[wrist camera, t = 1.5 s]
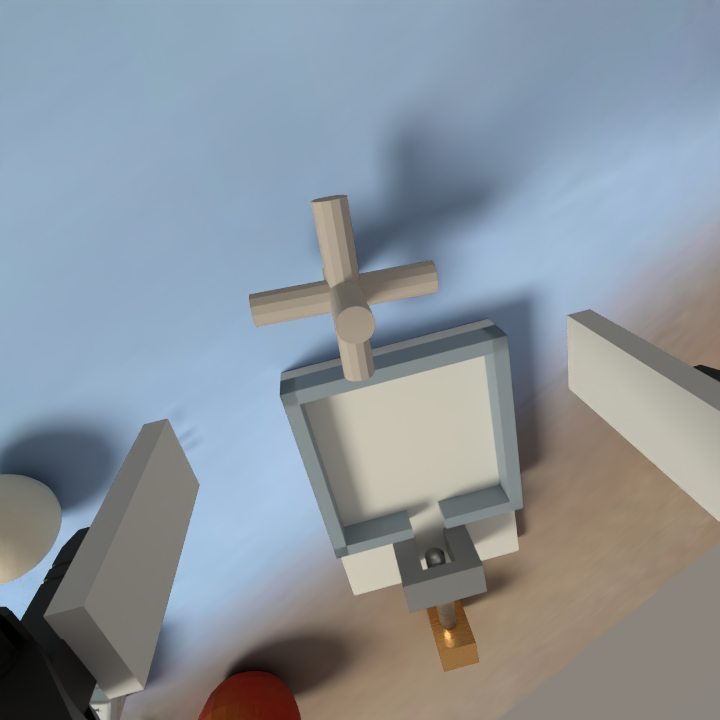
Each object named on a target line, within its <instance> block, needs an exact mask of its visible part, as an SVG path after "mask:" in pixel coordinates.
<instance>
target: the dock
mask: <svg viewBox="0 0 720 720" xmlns="http://www.w3.org/2000/svg"><path fill="white" fill-rule="evenodd" d="M371 351H372V357H373V363H374V370H375V372H374V375H373V376H372V377H370V378H369V379H366V380H363V381H350V380H347V379H346V378H345V377H344V372H343V366H342V361H341V357H340V358H337V359H333V360H329V361H325V362H321V363H318V364H314V365H310V366H306V367H302V368H299V369H295V370H291V371H287V372H283V373H281V381H280V397H281V400H282V403H283V406H284V409H285V412H286V415H287V417H288V420H289V423H290V426H291V429H292V432H293V435H294V437H295V440H296V443H297V446H298V449H299V452H300V455H301V457H302V460H303V463H304V466H305V469H306V472H307V475H308V477H309V480H310V483H311V486H312V489H313V492H314V495H315V497H316V500H317V503H318V506H319V509H320V512H321V515H322V517H323V520H324V523H325V526H326V529H327V532H328V535H329V537H330V540H331V543H332V546H333V549H334V552H335V555H336V557H337V559H338V558H342V561H343V564H344V567H345V570H346V573H347V576H348V579H349V582H350V585H351V587H352V590H353V593H354V595H358V594H362V593H365V592H369V591H373V590H376V589H380V588H384V587H387V586H391V585H395V584H398V583H402V584H403V588H404V592H405V596H406V599H407V603H408V607H409V610H410V613H412V612H415V611H419V610H422V609H426V608H430V607H433V606H437V605H441V604H444V603H448V602H451V601H455V600H459V599H462V598H466V597H470V596H473V595H477V594H480V593H484V592H487V588H486V581H485V575H484V569H483V564H482V562H481V561H482V560H486V559H490V558H493V557H497V556H500V555H504V554H508V553H511V552H515V551H519V548H518V539H517V529H516V519H515V510H518V509H521V508H523V499H522V488H521V477H520V467H519V456H518V445H517V434H516V424H515V413H514V402H513V391H512V381H511V370H510V359H509V348H508V338H507V335H506V334H505V333H504V332H503V331H502V330H501V329H500V328H498V327H497V326H496V325H495V324H494V323H493V322H492V321H491V320H489V319H485V320H481V321H478V322H474V323H470V324H466V325H462V326H459V327H455V328H451V329H447V330H443V331H439V332H436V333H432V334H428V335H424V336H420V337H417V338H413V339H409V340H405V341H401V342H398V343H394V344H390V345H386V346H382V347H379V348H375V349H371ZM431 548H440V549H441V550H442V551H443V552H444V555H445V560H446V564H443V565H439V566H435V567H432V568H427V564H426V559H425V553H426V552H427V551H428V550H429V549H431Z"/></svg>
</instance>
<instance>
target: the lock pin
mask: <svg viewBox="0 0 720 720" xmlns="http://www.w3.org/2000/svg"><path fill="white" fill-rule="evenodd" d="M425 559H426V564H427V568H432V567H435V566H439V565H443V564H446V560H445V555H444V552H443V551H442V550H441V549H440V548H431V549H429V550H428V551H427V552H426V553H425ZM427 612H428V616H429V620H430V624H431V628H432V631H433V635H434V638H435V642H436V645H437V649H438V652H439V656H440V659H441V663H442V666H443V670H444V672H446V671H449V670H453V669H457V668H460V667H464V666H467V665H471V664H475V663H478V662H479V657H478V652H477V646H476V642H475V639H474V636H473V634H472V631H471V628H470V625H469V623H468V620H467V617H466V614H465V612H464V609H463V606H462V604H461V601H460V599H459V600H455V601H451V602H448V603H444V604H441V605H437V606H433V607H430V608H427Z"/></svg>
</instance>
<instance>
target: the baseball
mask: <svg viewBox="0 0 720 720" xmlns="http://www.w3.org/2000/svg"><path fill="white" fill-rule="evenodd" d="M61 521H62V511H61V507H60V504H59V502H58V500H57V498H56V496H55V495H54V493H53V492H52V491H51V490H50V488H49V487H47V486H46V485H45V484H43V483H42V482H40V481H38V480H35V479H33V478H30V477H27V476H23V475H16V474H1V475H0V584H3V583H7V582H10V581H13V580H15V579H17V578H19V577H21V576H23V575H24V574H26V573H27V572H29V571H30V570H32V569H33V568H34V567H35V566H37V565H38V564H39V563H40V562H41V561H42V560H43V558H44V557H45V556H46V555H47V554H48V552H49V551H50V550H51V548H52V546H53V544H54V543H55V541H56V538H57V536H58V533H59V531H60V527H61Z"/></svg>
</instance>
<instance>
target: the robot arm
mask: <svg viewBox="0 0 720 720" xmlns="http://www.w3.org/2000/svg"><path fill="white" fill-rule="evenodd" d="M567 331H568V372H569V389H571V390H572V391H573V392H574V393H575V394H576V395H577V396H579V397H580V398H581V399H582V400H583V401H584V402H585V403H586V404H588V405H589V406H590V407H591V408H592V409H593V410H594V411H595V412H597V413H598V414H599V415H600V416H601V417H602V418H603V419H604V420H606V421H607V422H608V423H609V424H610V425H611V426H612V427H613V428H615V429H616V430H617V431H618V432H619V433H620V434H621V435H622V436H624V437H625V438H626V439H627V440H628V441H629V442H630V443H631V444H633V445H634V446H635V447H636V448H637V449H638V450H639V451H640V452H642V453H643V454H644V455H645V456H646V457H647V458H648V459H649V460H651V461H652V462H653V463H654V464H655V465H656V466H657V467H658V468H660V469H661V470H662V471H663V472H664V473H665V474H666V475H667V476H669V477H670V478H671V479H672V480H673V481H674V482H675V483H676V484H678V485H679V486H680V487H681V488H682V489H683V490H684V491H685V492H687V493H688V494H689V495H690V496H691V497H692V498H693V499H694V500H696V501H697V502H698V503H699V504H700V505H701V506H702V507H703V508H705V509H706V510H707V511H708V512H709V513H710V514H711V515H712V516H714V517H715V518H716V519H717V520H718V521H719V522H720V370H717V369H714V368H710V367H707V366H703V365H698V366H694V367H692V366H690V365H688V364H686V363H685V362H683V361H681V360H679V359H677V358H676V357H674V356H672V355H670V354H669V353H667V352H665V351H663V350H661V349H660V348H658V347H656V346H654V345H653V344H651V343H649V342H647V341H645V340H644V339H642V338H640V337H638V336H637V335H635V334H633V333H631V332H629V331H628V330H626V329H624V328H622V327H621V326H619V325H617V324H615V323H613V322H612V321H610V320H608V319H606V318H604V317H603V316H601V315H599V314H597V313H596V312H594V311H592V310H590V309H589V310H585V311H581V312H578V313H574V314H570V315H567ZM198 489H199V483H198V481H197V479H196V476H195V474H194V472H193V470H192V468H191V466H190V464H189V462H188V460H187V458H186V456H185V454H184V451H183V449H182V447H181V445H180V443H179V441H178V439H177V437H176V435H175V433H174V431H173V429H172V427H171V424H170V422H169V420H168V419H164V420H160V421H156V422H152V423H148V424H144V425H143V427H142V429H141V431H140V433H139V435H138V437H137V439H136V441H135V442H134V444H133V446H132V448H131V450H130V452H129V454H128V456H127V458H126V460H125V461H124V463H123V465H122V467H121V469H120V471H119V473H118V475H117V477H116V479H115V481H114V482H113V484H112V486H111V488H110V490H109V492H108V494H107V496H106V498H105V500H104V502H103V503H102V505H101V507H100V509H99V511H98V513H97V515H96V517H95V519H94V521H93V523H92V524H91V526H90V527H87V528H84V529H80V530H78V531H77V532H76V533H75V534H74V535H73V536H72V537H71V539H70V540H69V541H68V542H67V543H66V544H65V545H64V546H63V547H62V548H61V550H60V552H59V554H58V556H57V557H56V559H55V561H54V563H53V564H52V569H50V570H49V571H48V573H47V575H46V577H45V578H44V580H43V581H44V584H41V585H40V587H39V589H38V591H37V593H36V594H35V596H34V598H33V600H32V601H31V603H30V605H29V607H28V608H27V610H26V612H25V614H24V615H23V617H22V619H21V621H19V619H18V618H17V617H16V616H15V615H14V613H13V612H12V611H11V610H9V609H8V608H7V607H0V720H100V718H99V716H98V714H97V712H96V711H95V710H94V708H93V707H92V706H91V705H90V704H89V703H90V700H91V697H92V694H93V692H94V689H95V686H96V683H97V685H98V686H99V687H100V688H101V690H102V691H103V692H104V693H105V695H106V696H107V697H108V698H109V699H111V698H115V697H119V696H122V695H126V694H130V693H133V692H137V691H141V690H144V689H145V685H146V682H147V678H148V674H149V670H150V667H151V663H152V659H153V656H154V652H155V648H156V644H157V641H158V637H159V633H160V630H161V626H162V622H163V619H164V615H165V611H166V607H167V604H168V600H169V596H170V593H171V589H172V585H173V581H174V578H175V574H176V570H177V567H178V563H179V559H180V555H181V552H182V548H183V544H184V541H185V537H186V533H187V530H188V526H189V522H190V518H191V515H192V511H193V507H194V504H195V500H196V496H197V492H198Z"/></svg>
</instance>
